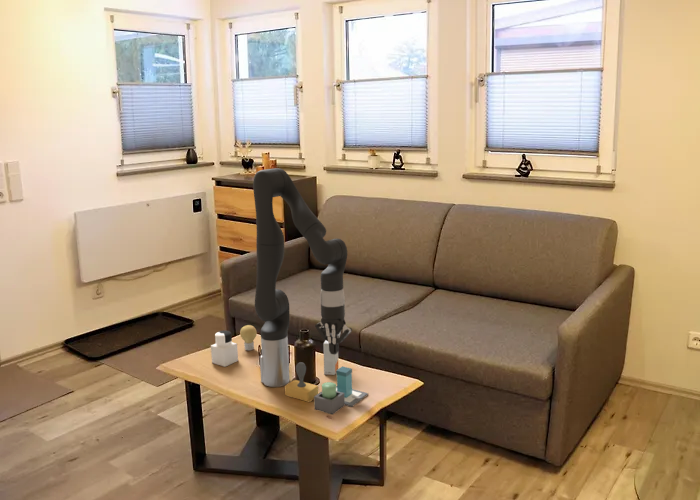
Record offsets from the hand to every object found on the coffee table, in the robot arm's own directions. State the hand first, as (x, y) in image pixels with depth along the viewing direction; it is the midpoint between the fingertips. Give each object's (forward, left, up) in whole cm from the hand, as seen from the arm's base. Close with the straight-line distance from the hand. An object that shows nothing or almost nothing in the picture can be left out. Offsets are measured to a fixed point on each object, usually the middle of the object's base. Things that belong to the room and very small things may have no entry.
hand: (334, 353), depth 211 cm
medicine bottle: (-55, +7, -18) cm, 58 cm away
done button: (0, -3, -14) cm, 14 cm away
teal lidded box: (0, +6, -17) cm, 18 cm away
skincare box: (-15, +20, -18) cm, 31 cm away
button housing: (0, -3, -18) cm, 18 cm away
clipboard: (0, +6, -18) cm, 19 cm away
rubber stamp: (-13, -1, -18) cm, 22 cm away
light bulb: (-55, +21, -18) cm, 62 cm away
